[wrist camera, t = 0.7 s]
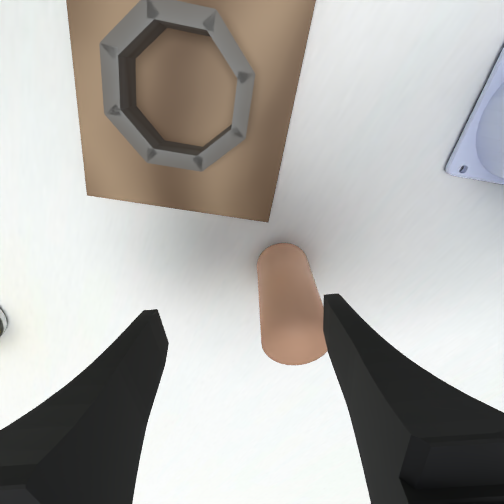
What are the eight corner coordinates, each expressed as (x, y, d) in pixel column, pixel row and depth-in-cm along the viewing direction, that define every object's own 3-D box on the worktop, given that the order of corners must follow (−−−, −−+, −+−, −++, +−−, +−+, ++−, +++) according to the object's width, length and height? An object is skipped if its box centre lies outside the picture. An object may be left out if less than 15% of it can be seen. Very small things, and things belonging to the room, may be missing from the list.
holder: (321, -44, 15) (341, -77, 12) (267, 215, 22) (270, 239, 19) (68, -105, 14) (14, -161, 11) (94, 189, 21) (67, 209, 17)
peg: (313, 246, 23) (341, 318, 16) (300, 288, 25) (321, 368, 18) (262, 239, 23) (269, 309, 16) (253, 282, 25) (255, 361, 18)
